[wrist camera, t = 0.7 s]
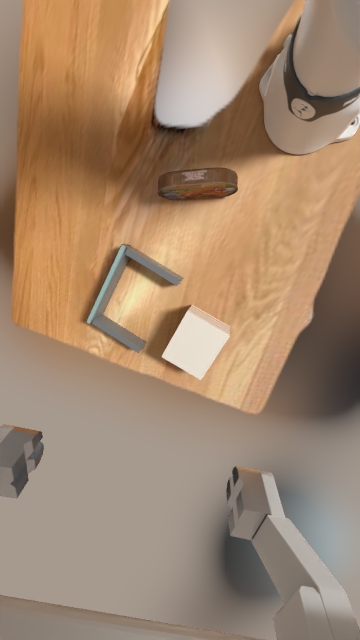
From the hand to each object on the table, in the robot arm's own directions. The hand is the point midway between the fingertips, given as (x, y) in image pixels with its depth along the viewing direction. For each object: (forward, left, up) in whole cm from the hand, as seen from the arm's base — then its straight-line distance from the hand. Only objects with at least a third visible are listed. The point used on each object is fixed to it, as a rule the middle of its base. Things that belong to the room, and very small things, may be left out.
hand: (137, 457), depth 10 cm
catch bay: (+11, -14, -47) cm, 50 cm away
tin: (-16, -13, -47) cm, 51 cm away
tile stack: (+11, +3, -47) cm, 48 cm away
